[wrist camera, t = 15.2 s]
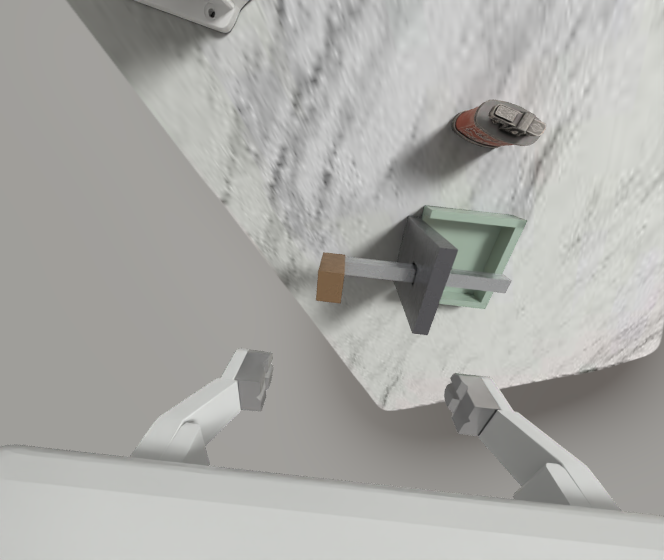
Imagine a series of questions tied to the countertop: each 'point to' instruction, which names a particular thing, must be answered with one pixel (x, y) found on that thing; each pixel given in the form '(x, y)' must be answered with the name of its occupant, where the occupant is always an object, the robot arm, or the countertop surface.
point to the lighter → (498, 125)
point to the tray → (475, 246)
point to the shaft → (393, 275)
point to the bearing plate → (424, 272)
